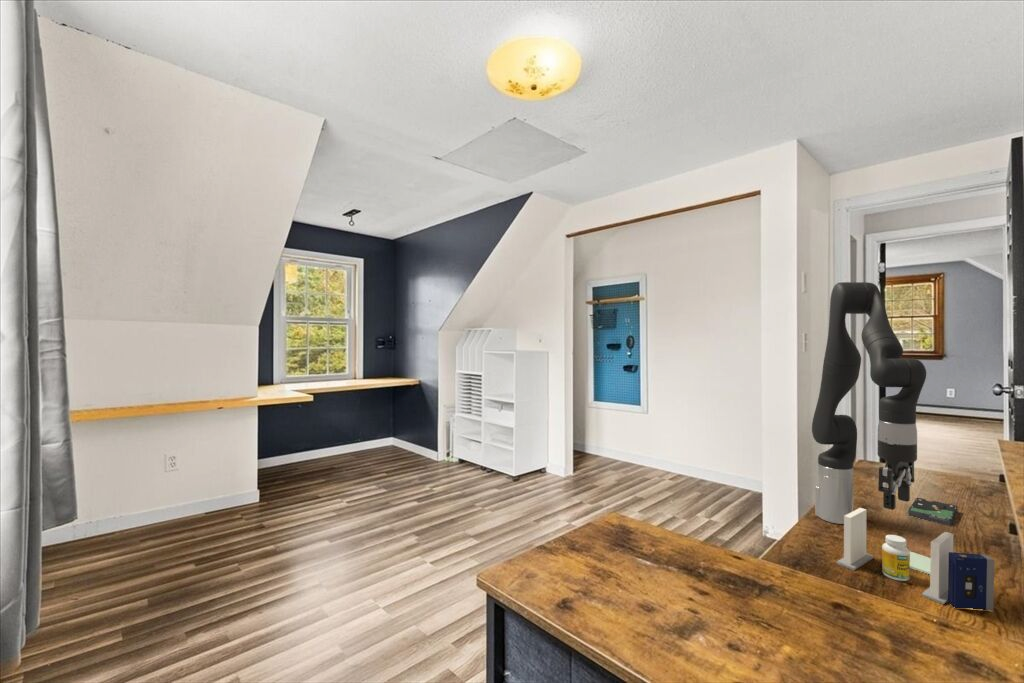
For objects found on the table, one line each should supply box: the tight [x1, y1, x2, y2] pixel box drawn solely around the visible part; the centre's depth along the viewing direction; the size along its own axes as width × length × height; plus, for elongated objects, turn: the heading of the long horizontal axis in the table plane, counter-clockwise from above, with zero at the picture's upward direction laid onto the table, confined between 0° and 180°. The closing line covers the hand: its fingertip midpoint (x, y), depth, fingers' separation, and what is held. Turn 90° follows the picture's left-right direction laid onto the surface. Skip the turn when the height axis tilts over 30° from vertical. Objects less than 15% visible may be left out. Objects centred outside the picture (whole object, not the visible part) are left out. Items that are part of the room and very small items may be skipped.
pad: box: [909, 550, 931, 576], centre depth 121 cm, size 9×9×1 cm
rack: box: [836, 507, 955, 605], centre depth 116 cm, size 22×11×13 cm, turn 32°
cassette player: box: [947, 551, 995, 612], centre depth 103 cm, size 7×2×12 cm, turn 78°
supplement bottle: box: [881, 534, 911, 582], centre depth 116 cm, size 5×5×10 cm
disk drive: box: [907, 497, 959, 527], centre depth 151 cm, size 10×3×15 cm
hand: (896, 504), depth 116 cm, fingers open, 8 cm apart
